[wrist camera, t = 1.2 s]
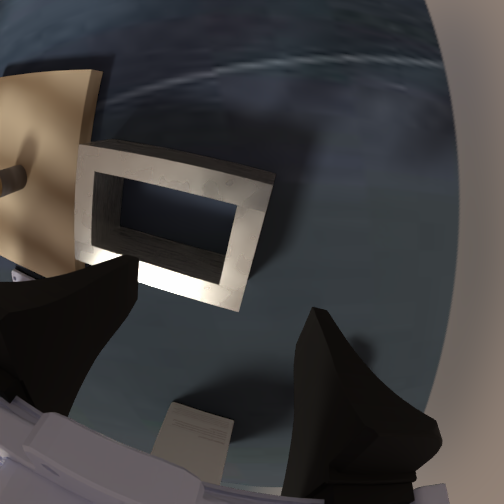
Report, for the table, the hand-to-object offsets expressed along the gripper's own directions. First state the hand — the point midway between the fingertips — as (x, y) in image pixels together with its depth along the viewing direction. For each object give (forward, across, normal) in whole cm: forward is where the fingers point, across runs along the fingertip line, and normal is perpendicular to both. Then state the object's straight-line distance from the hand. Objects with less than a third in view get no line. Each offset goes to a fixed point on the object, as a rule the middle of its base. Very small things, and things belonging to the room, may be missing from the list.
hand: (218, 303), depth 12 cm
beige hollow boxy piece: (+9, +5, 0) cm, 11 cm away
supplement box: (+10, 0, +25) cm, 27 cm away
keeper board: (+9, +20, 0) cm, 22 cm away
